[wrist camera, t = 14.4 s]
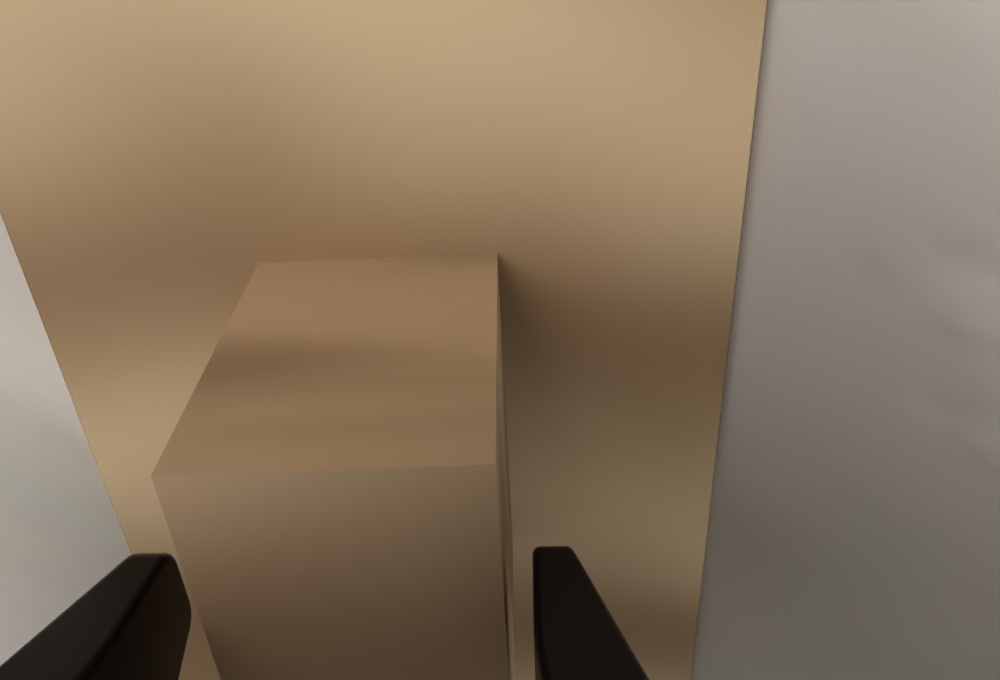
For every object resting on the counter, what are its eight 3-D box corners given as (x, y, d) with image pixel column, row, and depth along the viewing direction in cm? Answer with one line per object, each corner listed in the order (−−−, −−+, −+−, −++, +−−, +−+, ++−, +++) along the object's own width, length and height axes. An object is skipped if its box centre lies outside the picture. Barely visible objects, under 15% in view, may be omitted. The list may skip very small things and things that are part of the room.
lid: (679, 649, 16) (739, 947, 12) (206, 662, 17) (107, 959, 13) (792, -507, 8) (1128, -834, 4) (-183, -445, 8) (-920, -686, 4)
